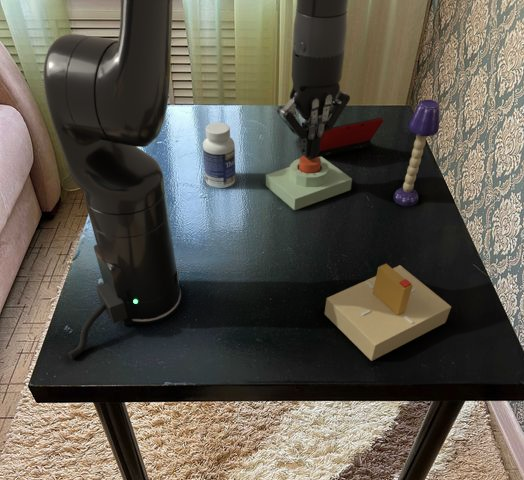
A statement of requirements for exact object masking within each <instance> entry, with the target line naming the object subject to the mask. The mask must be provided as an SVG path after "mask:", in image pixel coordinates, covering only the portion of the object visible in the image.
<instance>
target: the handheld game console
mask: <svg viewBox="0 0 524 480" xmlns="http://www.w3.org/2000/svg"><path fill="white" fill-rule="evenodd" d="M383 123H384V118H383V117H376V118H371V119H366V120H361V121H357V122H352V123H346V124H341V125H337V126H336V125H335V126H333V127H332V129H331V130H329V131H328V130H326V131H325V132H324V133H323V135H322V136H321V144H320V152H319V154H318V157H327V156H331V155H335V154H339V153H341V152H342V153H343V152H349V151H350V152H351V151H354V150H355V151H356V150H359V149H364V148H365V149H366V148H368V147H370V145H371V142H372V141H371V140H372V139H373V137H374V136H375V134H376V133H377V131H378V130H379V129H380V127H381V125H382V124H383ZM297 142H298V144H299V145H300V147H302V139H301V138H300V137H299V136H298V139H297Z"/></svg>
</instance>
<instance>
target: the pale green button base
mask: <svg viewBox="0 0 524 480" xmlns="http://www.w3.org/2000/svg"><path fill="white" fill-rule="evenodd" d="M319 158H320V159H321V165H320V171H319V172H317V173H314V174H307V173H304V172H301V171H300V170H299V161H300V158H297V159H295V160H293V162H291V164H290V165H289V166H288V167H285V168H281V169H278V170H275V171H273V172H272V171H271V172H269V173H266V174H265V186H266V187H267V188H268V189H269V190H270V191H271V192H273V193H274V194H275V196H277V197H278V198H279V199H281V200H282V201H283V202H284V203H285V204H286V205H288V207H290V208H291V209H292V210H293V211H296V210H297V211H298V210H300V209H302V208H305V207H308V206H310V205H313V204H316V203H318V202H322V201H324V200H327V199H329V198H330V199H331V198H333V197H336V196H338V195H341V194H345V193H347V192H349V191H351V190H352V183H353V178H352V177H350V176H349V175H347V174H346V173H345V172H343V170H341V169H340V168H338V167H337V166H335V165H334V164H332V163H331V162H330V161H329V160H327V159H326V158H324V156H322V157H319Z"/></svg>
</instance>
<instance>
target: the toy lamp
mask: <svg viewBox="0 0 524 480" xmlns="http://www.w3.org/2000/svg"><path fill="white" fill-rule="evenodd" d="M407 129H408V131H409V132H410V133H412V134H413V135H415V140H414V142H413V148H412V149H411V150H412V151H411V157H410V158H409V165H408V166H407V168H406V175H405V177H404V182H403V184H402V187H399V188H398V189H397V190H396V191H394V194H393V196H392V199H393V201H394V202H395V203H396V204H398V205H400V206H404V207H412V206H415V205H417V204H418V202H419V194H418V192H417V191H416V189H414V186H415V182H416V180H417V174H418V173H419V168H420V167H419V166H420V164H421V163H422V162H421V161H422V157H423V154H424V148H425V146H426V139H427V138H428V137H432V136H435V135H436V134H437V133H439V130H440V104H439V103H438V101H435V100H433V99H422V100H421V101H419V102H418V104H417V105H416V107H415V110H414V111H413V114H412V116H411V118H410V119H409V121H408V124H407Z"/></svg>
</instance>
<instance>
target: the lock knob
mask: <svg viewBox="0 0 524 480" xmlns="http://www.w3.org/2000/svg"><path fill="white" fill-rule="evenodd" d="M375 276H376V280H375V285H374V289H373V294H374V295H376V296H377V297H378V298H379V299H380V300H381V301H382V302H383V303H385V304H386V305H387V306H388V307H389V308H390V309H391V310H392V311H394V312H395V313H396V314H397V315H399V314H401V313H403V312H405V311H406V307H407V304H408V300H409V297H410V293H411V290H412V286H413V285H412V284H411V282H409V281H408V280H407V279H404V278H403V277H402V276H401V275H400V274H398V273H397V272H396V271H395V270H394V269H393V267H392V266H390V265H389V264H388V263H384V264H382V265H380V266H378V267H377V272H376V275H375Z"/></svg>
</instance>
